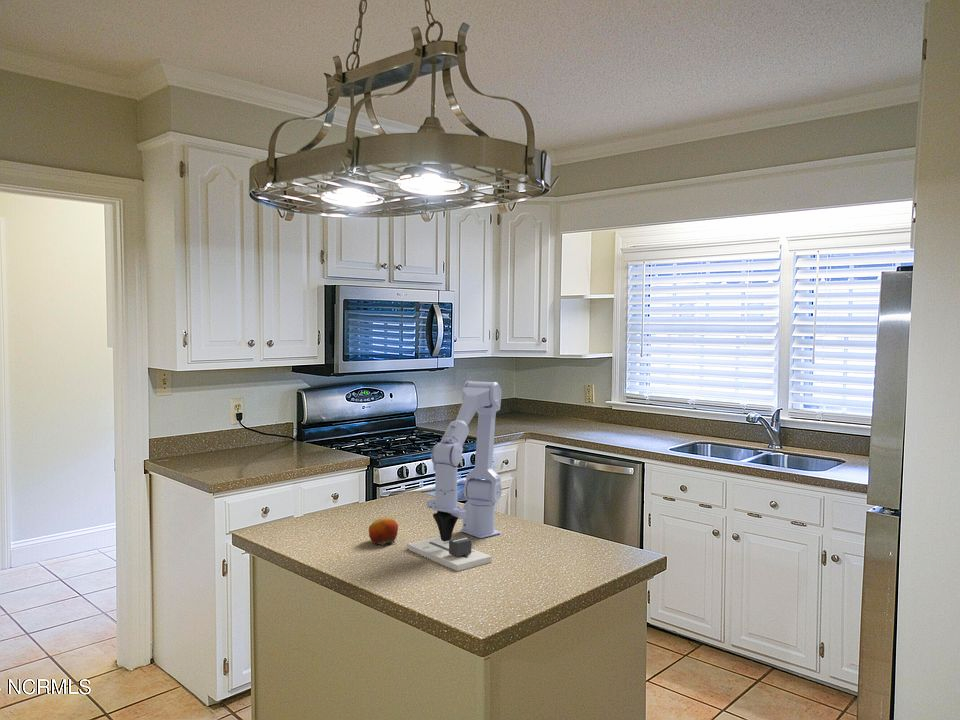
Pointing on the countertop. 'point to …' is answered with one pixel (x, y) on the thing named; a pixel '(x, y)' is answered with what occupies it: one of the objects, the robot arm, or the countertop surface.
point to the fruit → (383, 531)
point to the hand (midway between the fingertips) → (445, 540)
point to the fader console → (440, 554)
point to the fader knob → (460, 546)
